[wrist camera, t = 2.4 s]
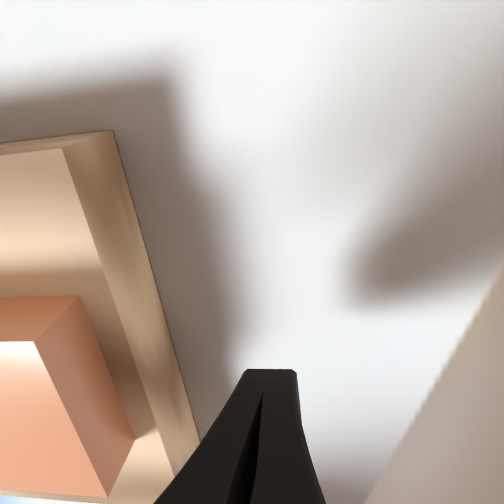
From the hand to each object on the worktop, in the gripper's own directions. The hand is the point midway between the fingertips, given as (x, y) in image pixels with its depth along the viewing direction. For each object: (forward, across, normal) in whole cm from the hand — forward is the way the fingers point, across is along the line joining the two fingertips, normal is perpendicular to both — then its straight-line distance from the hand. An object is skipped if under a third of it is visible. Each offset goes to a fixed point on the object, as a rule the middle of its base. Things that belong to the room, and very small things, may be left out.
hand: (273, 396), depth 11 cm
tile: (+1, +10, 0) cm, 10 cm away
